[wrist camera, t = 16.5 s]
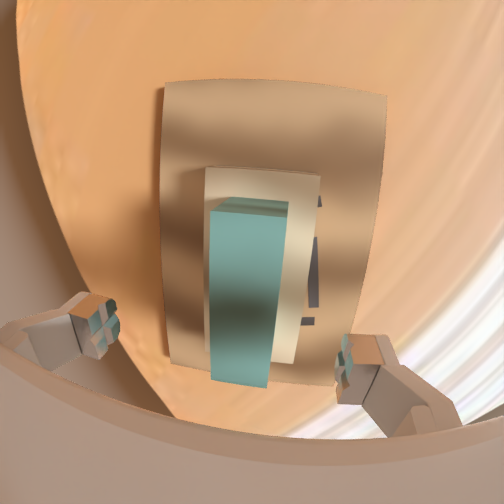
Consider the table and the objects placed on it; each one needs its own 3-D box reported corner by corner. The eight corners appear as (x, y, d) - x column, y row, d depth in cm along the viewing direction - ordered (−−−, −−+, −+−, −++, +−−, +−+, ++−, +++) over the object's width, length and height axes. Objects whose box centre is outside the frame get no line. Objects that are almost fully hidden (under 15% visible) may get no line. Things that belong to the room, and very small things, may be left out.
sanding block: (217, 165, 17) (175, 172, 11) (316, 173, 16) (330, 183, 10) (214, 331, 21) (186, 391, 15) (294, 342, 20) (290, 408, 14)
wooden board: (171, 85, 16) (165, 82, 16) (382, 98, 15) (387, 95, 14) (174, 356, 24) (170, 363, 23) (332, 378, 22) (333, 386, 21)
